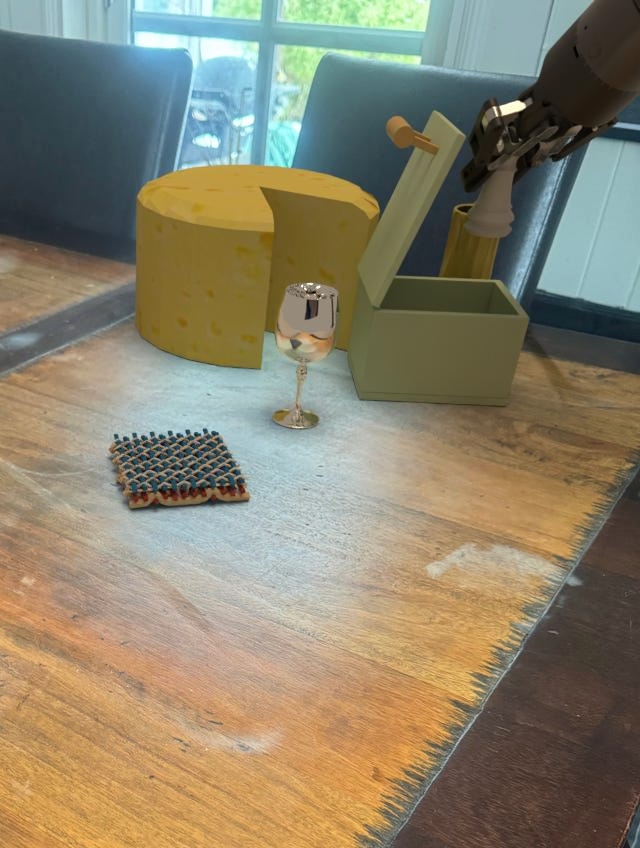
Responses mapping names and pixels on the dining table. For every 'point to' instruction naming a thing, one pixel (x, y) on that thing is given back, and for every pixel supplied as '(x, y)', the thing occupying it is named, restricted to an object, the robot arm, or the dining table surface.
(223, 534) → the dining table surface
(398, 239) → the lid
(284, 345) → the wineglass
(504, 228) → the rook chess piece
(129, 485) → the woven mat
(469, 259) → the vase
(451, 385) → the chest
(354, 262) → the cheese
